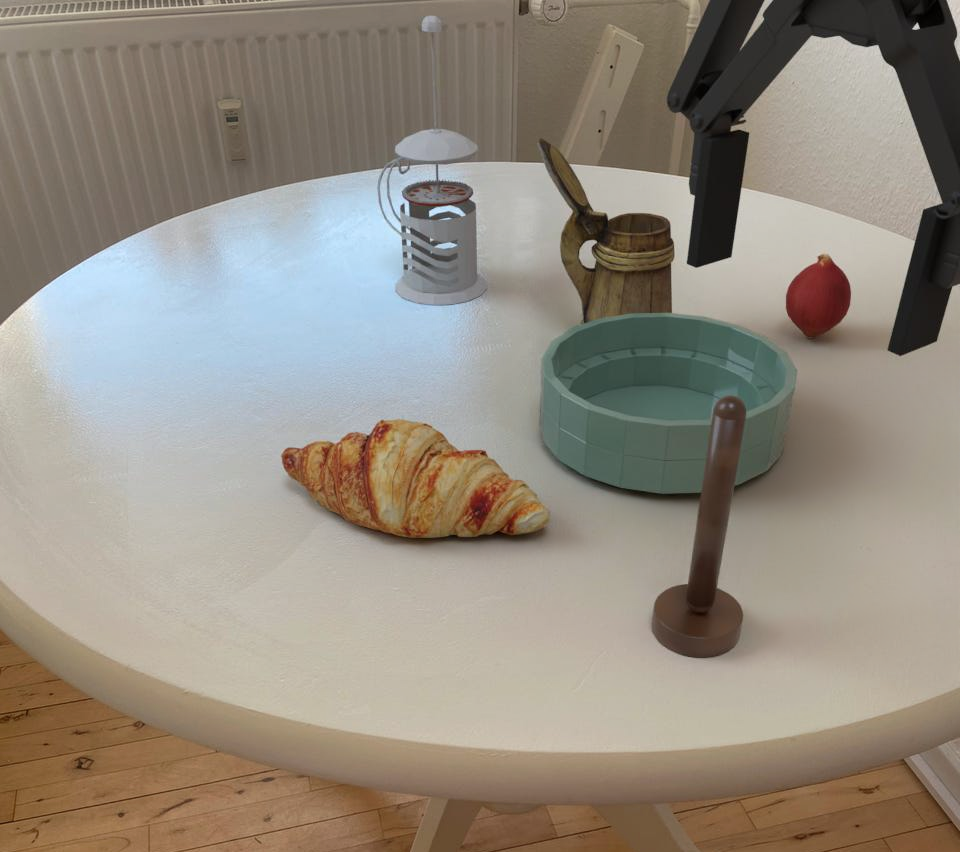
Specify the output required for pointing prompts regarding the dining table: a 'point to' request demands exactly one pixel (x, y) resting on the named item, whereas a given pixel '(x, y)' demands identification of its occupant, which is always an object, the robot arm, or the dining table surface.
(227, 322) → the dining table surface
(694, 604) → the wooden paper towel stand
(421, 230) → the french press
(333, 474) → the croissant
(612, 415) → the bowl
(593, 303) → the wooden mug
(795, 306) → the onion
